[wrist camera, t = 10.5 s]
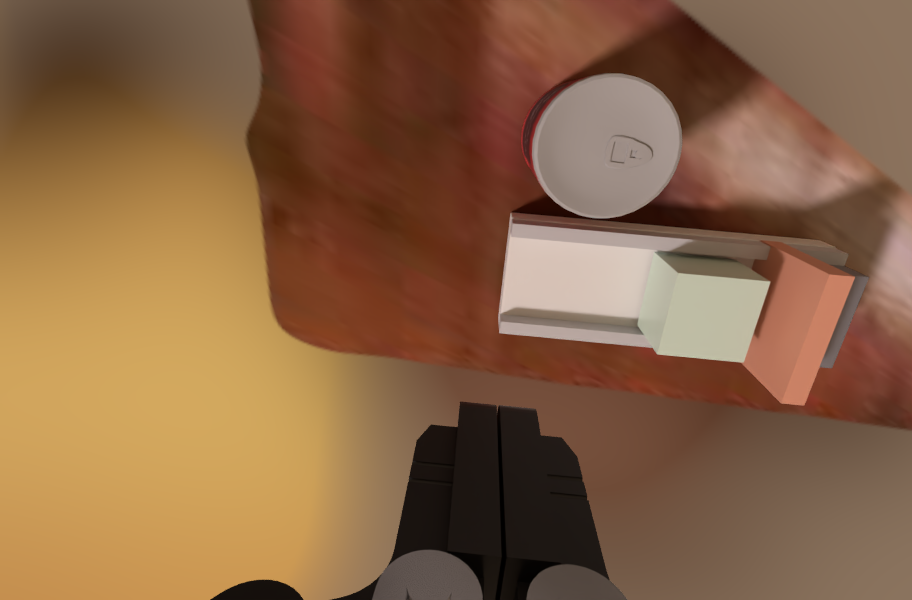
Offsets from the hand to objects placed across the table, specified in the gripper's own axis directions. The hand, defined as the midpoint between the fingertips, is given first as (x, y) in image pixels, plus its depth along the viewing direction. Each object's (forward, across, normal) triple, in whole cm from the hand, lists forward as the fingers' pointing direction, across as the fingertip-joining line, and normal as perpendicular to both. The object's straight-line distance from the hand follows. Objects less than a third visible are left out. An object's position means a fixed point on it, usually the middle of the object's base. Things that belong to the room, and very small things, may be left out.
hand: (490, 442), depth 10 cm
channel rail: (+31, -14, +6) cm, 35 cm away
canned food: (+31, -6, -4) cm, 32 cm away
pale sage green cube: (+29, -16, +6) cm, 33 cm away
